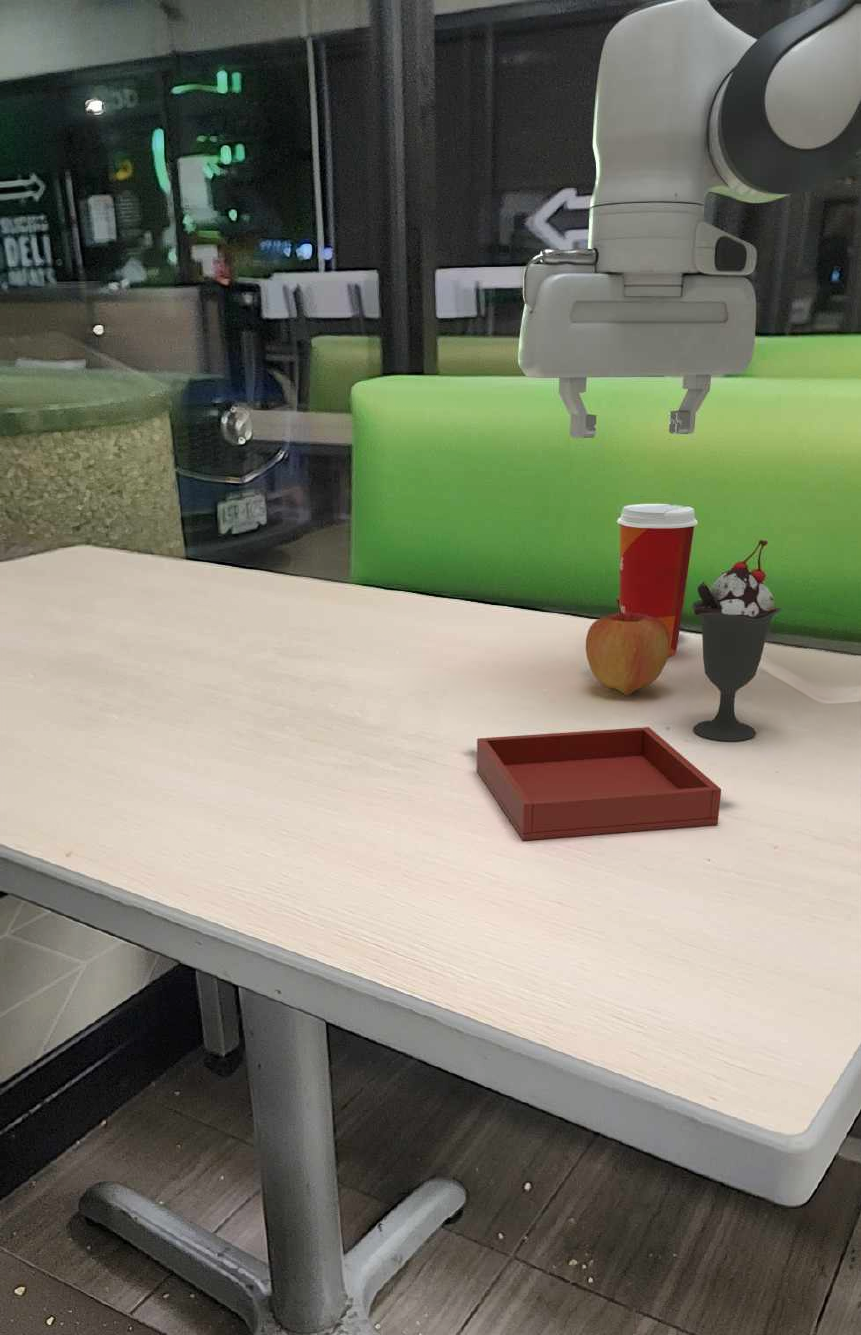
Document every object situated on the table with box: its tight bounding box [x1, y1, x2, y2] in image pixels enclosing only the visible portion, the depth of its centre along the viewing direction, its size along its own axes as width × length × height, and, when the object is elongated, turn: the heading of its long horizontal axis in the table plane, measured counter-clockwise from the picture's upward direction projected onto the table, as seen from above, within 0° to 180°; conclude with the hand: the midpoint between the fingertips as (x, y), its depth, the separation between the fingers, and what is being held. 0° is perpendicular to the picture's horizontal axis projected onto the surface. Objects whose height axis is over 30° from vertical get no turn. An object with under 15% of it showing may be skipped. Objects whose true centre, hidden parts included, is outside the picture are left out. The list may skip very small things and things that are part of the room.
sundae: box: [692, 539, 782, 742], centre depth 91 cm, size 7×7×15 cm
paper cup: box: [616, 503, 699, 658], centre depth 115 cm, size 8×8×14 cm
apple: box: [585, 598, 670, 696], centre depth 103 cm, size 7×7×8 cm
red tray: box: [476, 726, 722, 841], centre depth 80 cm, size 13×13×2 cm
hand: (632, 435), depth 97 cm, fingers open, 8 cm apart
